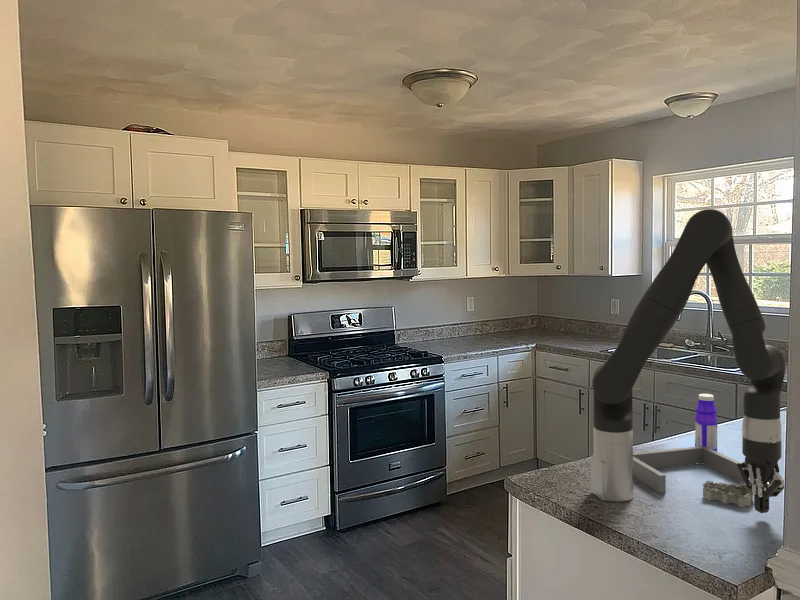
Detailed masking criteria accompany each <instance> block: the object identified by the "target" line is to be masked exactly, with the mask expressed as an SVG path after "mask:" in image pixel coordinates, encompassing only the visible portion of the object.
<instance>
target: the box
mask: <svg viewBox="0 0 800 600" xmlns="http://www.w3.org/2000/svg"><path fill="white" fill-rule="evenodd" d="M696 463H704V464H703V465H705V464H706V465H705V466H707V465H708V466H707V467H709V466H710V467H709V468H711V467H712V468H711V469H713V468H714V469H713V470H715V471H717V472H719V473H721V474H723V475H725V476H726V477H729V478H731V479H733V480H735V481H737V482H739V483H745V482H744V480H743V477H742V475H741V473H740V471H739V469H738V466H737V464H738V463H742V461H741V462H740V461H738V460H736V459H734V458H731V457H729V456H728V455H724V454H723V453H721V452H718V451H717V452H716V451H714V450H712V449H710V448H707V447H705V446H698V447H695V446H692V447H691V446H690V447H680V448H670V449H661V450H660V449H659V450H650V451H638V452H633V478H635V479H637V480H638V481H640V482H642V483H643V484H645V485H646V484H647V486H648V487H650V489H651V488H652V489H653V490H655V492H657V491H658V492H657V493H659V494H665V492H666V491H667V489H666V487H667V486H666V483H667V482H666V478H667V477H666V474H665V473H662V471H661V472H660V471H659V470H657V469H661V468H662V469H663V468H664V467H665V468H673V467H672V466H675V467H682V466H681V465H684V466H690V465H689V464H694V465H697V464H696ZM665 468H664V469H665Z"/></svg>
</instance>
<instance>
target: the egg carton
mask: <svg viewBox="0 0 800 600" xmlns="http://www.w3.org/2000/svg"><path fill="white" fill-rule="evenodd" d="M703 496H704V497H703ZM702 497H703V498H705V497H706V498H705V499H706V500H707V499H709V501H713V500H712V499H718V500H717V501H720V500H721V501H720V502H721V503H722V502H723V504H726V503H727V504H730V503H731V504H736V505H737V506H738V507H739V508H743V507H750V506H751V502H752V503H753V501H754V494H753V492H752V490H751V489H748V488H747V486H746V484H745V483H741V482H739V484H738V483H726V482H714V481H713V480H712V481H711V480H707V481H705V482H704V483H703V484H702Z"/></svg>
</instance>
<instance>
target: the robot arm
mask: <svg viewBox="0 0 800 600" xmlns="http://www.w3.org/2000/svg"><path fill="white" fill-rule="evenodd" d="M735 246H736V245H735V240H734V236H733V225H732V223H731V222H730V219H729V218H728V217H727V216H726V215H725V213H723V212H722V211H720V210H719V209H714V208H706V209H705V208H704V209H701V210H699V211H697V212H696V213H694V214H693V215H692V216H691V217H690V218H689V219H688V221H687V222H686V225H685V226H684V228H683V230H682V233H681V235H680V237H679V239H678V240H677V243H676V245H675V247H674V248H673V251H672V253H671V254H670V256H669V258H668V260H667V261H666V263H665V264H664V266H663V267H662V268H661V269H660V271H659V272H658V274H656V276H655V278H654V279H653V280H652V282H651V284H650V285H649V287H648V288H647V289H646V291H645V292H644V294H643V296H642V297H641V299H640V300H639V302H638V304H637V306H636V307H635V309H634V311H633V312H632V315H631V316H630V318H629V320H628V322H627V325H626V327H625V329H624V332H623V335H622V336H621V339H620V341H619V344H618V345H617V347H615V350H614V351H613V352H612V354H610V357H608V359H607V360H606V362H604V363H602V364H600V365H599V366H598V367H596V370H595V372H594V373H593V376H592V381H591V382H592V383H591V384H592V385H591V386H592V391H593V417H592V418H593V419H592V420H593V454H592V455H590V493H592V494H593V495H594V496H596V497H598V499H599V500H601V501H603V502H605V501H608V502H617V503H618V502H621V503H622V502H627V501H630V500H632V499H633V498H634V476H633V453H634V440H633V439H634V438H633V436H634V433H633V432H634V431H633V429H634V426H633V425H634V424H633V422H634V420H633V418H634V417H633V415H634V414H633V413H634V412H633V388H634V386H635V384H636V381H637V380H638V378H639V376H640V374H641V372H642V370H643V368H644V366H645V365H646V364H647V361H648V360H649V358H650V357H651V356H652V355H653V353H654V352H655V351H656V349H657V348H658V347H659V346H660V345H661V343H662V342H663V340H664V339H665V338H666V336H667V335H668V334H669V332H670V331H671V330H672V328H673V327H674V325H675V324H676V322H677V320H678V319H679V318H680V317H681V314H682V313H683V311H684V309H685V307H686V305H687V303H688V301H689V299H690V297H691V293H692V291H693V290H694V287H695V284H696V282H697V279H698V277H699V275H700V273H701V271H702V270H703V268H704V267H705V266H707V267H708V270H709V272H710V274H711V277H712V280H713V283H714V286H715V290H716V295H717V297H718V301H719V304H720V308H721V310H722V313H723V316H724V318H725V321H726V324H727V326H728V328H729V331H730V333H731V338H732V346H733V352H734V353H733V354H734V359H735V362H736V364H737V366H738V368H739V371H740V372H741V373H742V375H743V376H745V377H746V378H748V379H749V380H750V382H749V383H750V384H749V386H748V388H747V389H746V390H745V391H744V395H743V417H742V427H741V428H742V431H741V433H742V434H741V435H742V440H741V441H742V443H741V445H742V447H741V449H742V454H743V456H744V461H743V462H741V463H738V464H737V466H738V469H739V471H740V473H741V475H742V477H743V480H744V482H745V484H746V486H747V488H748V489H751V490H752V492H753V495H754V496H753V501H754V502H753V505H754V511H756V512H758V513H760V514H764V513H766V514H767V513H768V512H769V510H770V498H774V497H778V496H779V495H780V494H781V492H782V491H783V490H784V489H785V488H784V479H785V478H783V477H782V475H781V474H780V471H781V470H780V467H779V461H780V460H781V458H782V451H783V450H782V442H783V441H782V433H783V432H782V423H781V393H782V390H783V387H784V386H783V385H784V380H785V375H786V360H785V357H784V354H783V353H782V351H781V350H780V349H779V348H777V347H775V346H774V345H772V344H771V345H770V344H766V342H765V339H764V335H763V334H764V332H765V331H766V322H765V320H764V317H763V315H762V312H761V310H760V308H759V306H758V302H757V299H756V297H755V296H754V293H753V292H752V289H751V287H750V285H749V283H748V281H747V279H746V276H745V274H744V272H743V270H742V266H741V265H740V262H739V259H738V255H737V251H736V247H735Z"/></svg>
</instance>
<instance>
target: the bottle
mask: <svg viewBox="0 0 800 600" xmlns="http://www.w3.org/2000/svg"><path fill="white" fill-rule="evenodd" d="M697 402H698V403H697V406H696V407H695V411H696V413H695V417H694V420H695V421H694V425H695V427H694V429H695V430H694V431H695V435H694V437H695V439H694V442H695V443H694V447H698V446H705V447H707V448H710V449H712V450H714V451H716V452H718V423H719V422H718V417H717V414H716V413H717V411H718V410H717V408H716V406H715V396H714V395H713V394H711V393H699V394H698V401H697Z"/></svg>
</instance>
